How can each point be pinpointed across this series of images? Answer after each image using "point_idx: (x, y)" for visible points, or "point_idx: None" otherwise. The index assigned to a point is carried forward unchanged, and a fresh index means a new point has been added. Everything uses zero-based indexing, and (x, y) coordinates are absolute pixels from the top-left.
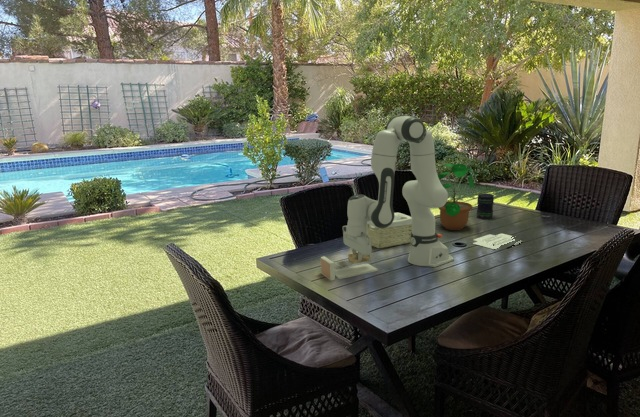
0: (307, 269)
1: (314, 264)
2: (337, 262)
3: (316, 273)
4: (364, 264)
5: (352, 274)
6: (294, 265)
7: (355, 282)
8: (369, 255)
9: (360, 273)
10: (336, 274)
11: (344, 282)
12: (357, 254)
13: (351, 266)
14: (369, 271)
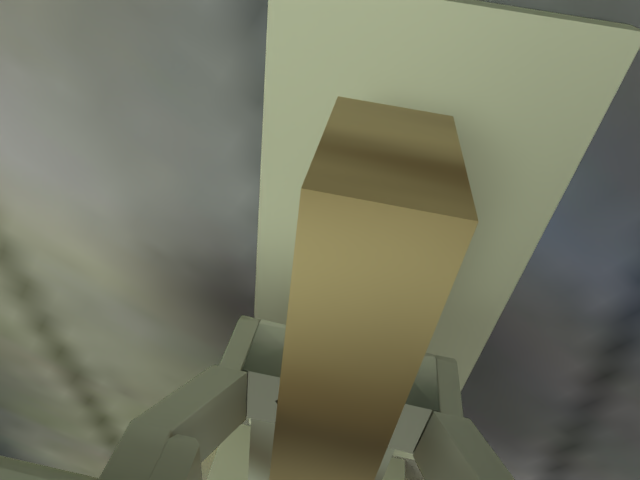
0: (113, 443)
1: (22, 373)
2: (259, 478)
3: (214, 453)
4: (295, 68)
5: (466, 379)
6: (10, 443)
7: (595, 423)
8: (467, 179)
9: (501, 301)
10: None
11: (509, 458)
12: (363, 456)
13: (258, 254)
14: (559, 187)
